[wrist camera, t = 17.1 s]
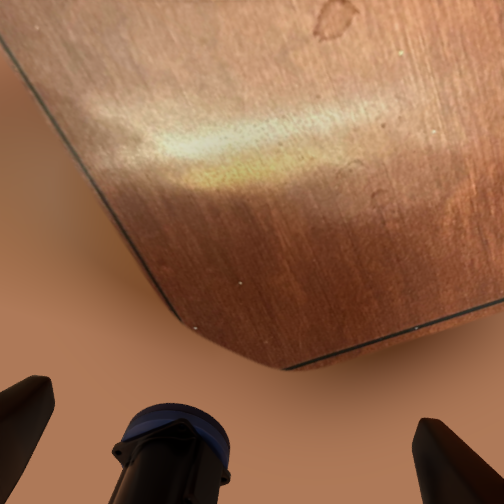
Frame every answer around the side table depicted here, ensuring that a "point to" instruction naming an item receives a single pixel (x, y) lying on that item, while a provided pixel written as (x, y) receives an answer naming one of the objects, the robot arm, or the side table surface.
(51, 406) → the robot arm
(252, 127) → the side table surface
